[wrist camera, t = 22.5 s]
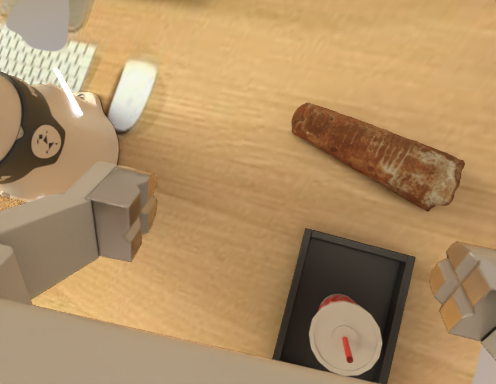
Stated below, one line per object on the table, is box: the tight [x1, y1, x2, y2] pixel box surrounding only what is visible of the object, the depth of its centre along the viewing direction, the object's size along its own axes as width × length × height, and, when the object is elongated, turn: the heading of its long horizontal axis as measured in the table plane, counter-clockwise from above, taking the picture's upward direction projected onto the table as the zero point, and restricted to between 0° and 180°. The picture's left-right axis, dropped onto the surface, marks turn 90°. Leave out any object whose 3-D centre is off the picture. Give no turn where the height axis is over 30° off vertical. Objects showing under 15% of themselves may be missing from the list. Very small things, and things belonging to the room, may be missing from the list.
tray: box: [273, 228, 415, 384], centre depth 36 cm, size 12×17×3 cm
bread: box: [292, 103, 465, 211], centre depth 37 cm, size 6×19×6 cm, turn 56°
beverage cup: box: [309, 294, 382, 376], centre depth 30 cm, size 6×6×14 cm
